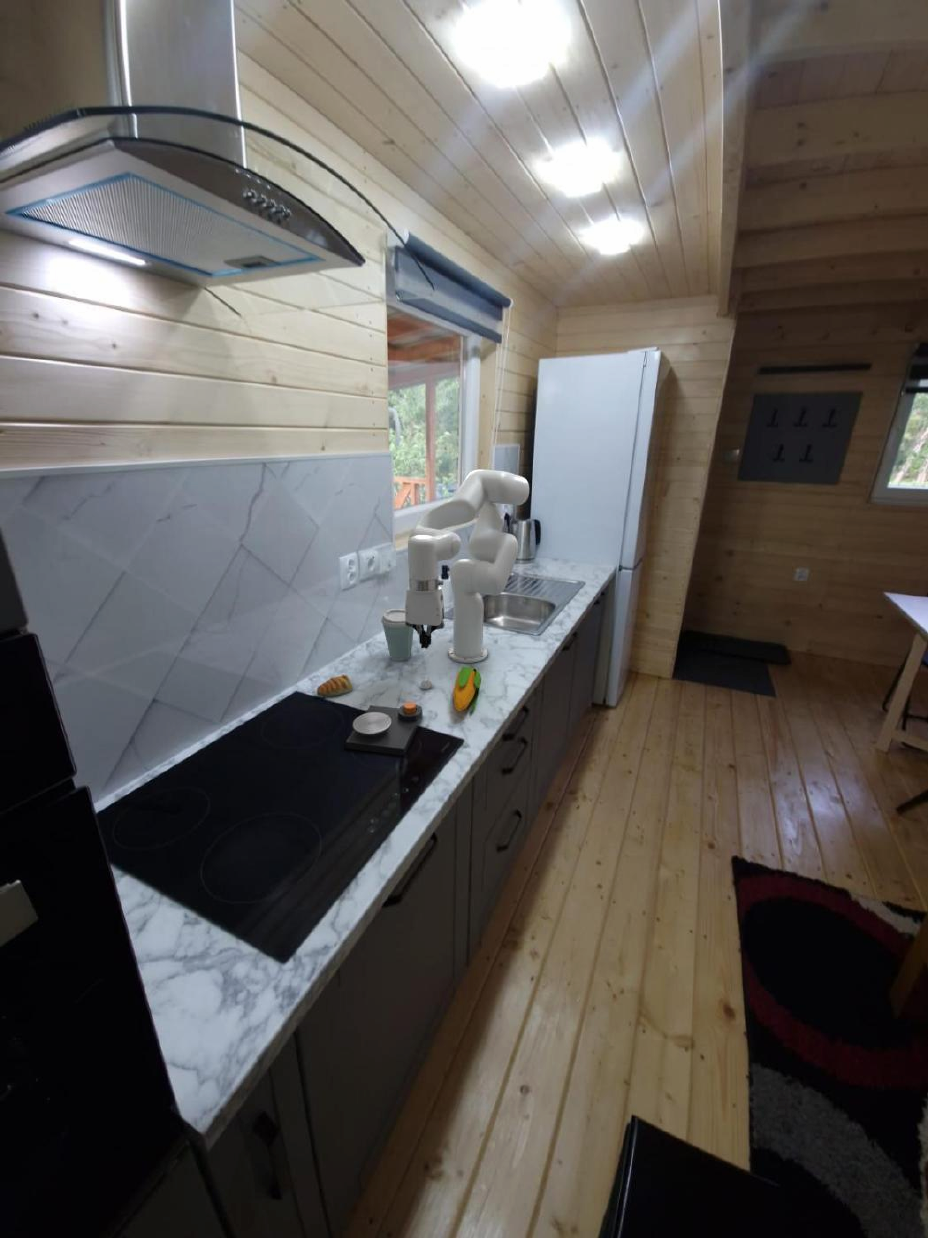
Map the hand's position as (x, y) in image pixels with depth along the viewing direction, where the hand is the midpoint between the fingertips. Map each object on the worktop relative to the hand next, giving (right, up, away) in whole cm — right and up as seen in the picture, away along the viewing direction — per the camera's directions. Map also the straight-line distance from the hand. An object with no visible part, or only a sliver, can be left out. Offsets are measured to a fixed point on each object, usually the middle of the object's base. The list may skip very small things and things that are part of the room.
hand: (425, 646), depth 136 cm
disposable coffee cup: (-10, -5, +23) cm, 25 cm away
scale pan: (-11, -18, -19) cm, 28 cm away
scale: (-8, -20, -15) cm, 27 cm away
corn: (+11, -15, -2) cm, 19 cm away
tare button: (-3, -16, -12) cm, 20 cm away
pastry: (-25, -13, +3) cm, 28 cm away
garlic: (0, -12, +5) cm, 13 cm away
